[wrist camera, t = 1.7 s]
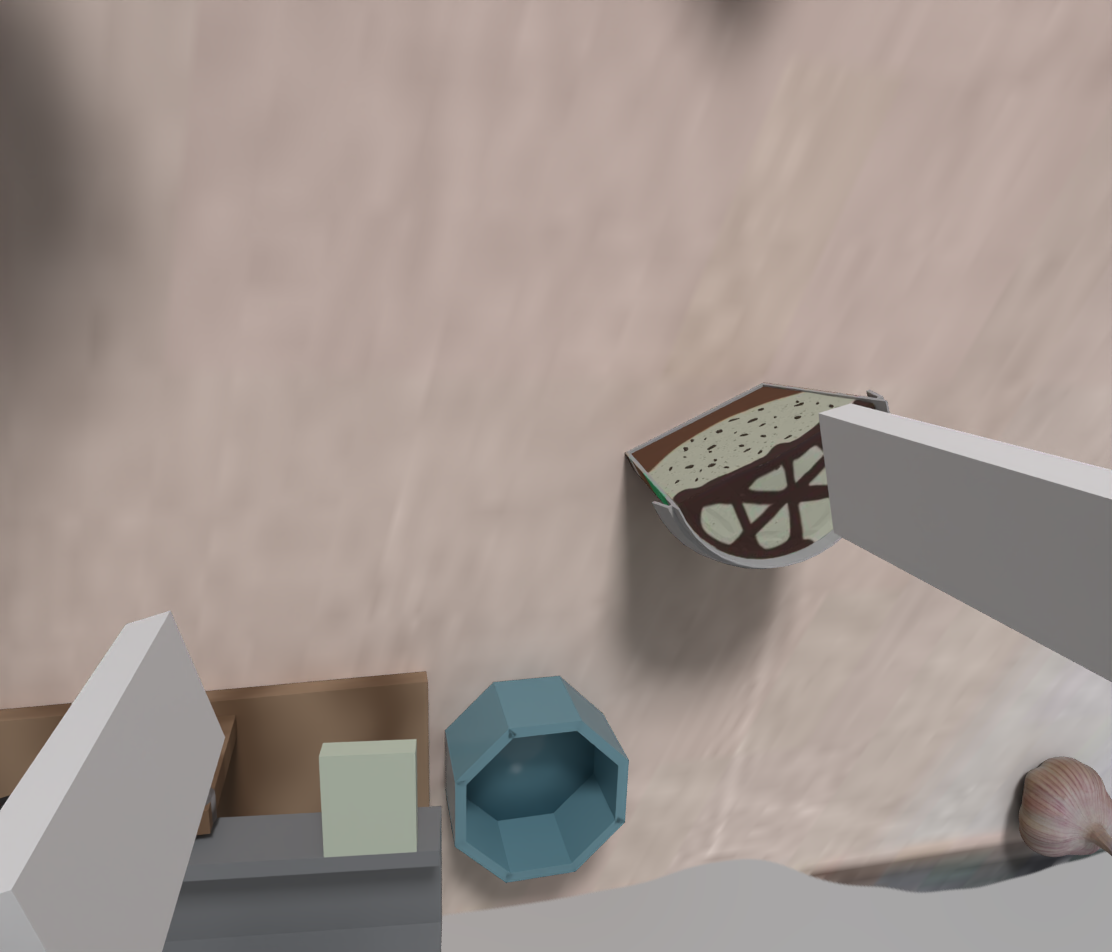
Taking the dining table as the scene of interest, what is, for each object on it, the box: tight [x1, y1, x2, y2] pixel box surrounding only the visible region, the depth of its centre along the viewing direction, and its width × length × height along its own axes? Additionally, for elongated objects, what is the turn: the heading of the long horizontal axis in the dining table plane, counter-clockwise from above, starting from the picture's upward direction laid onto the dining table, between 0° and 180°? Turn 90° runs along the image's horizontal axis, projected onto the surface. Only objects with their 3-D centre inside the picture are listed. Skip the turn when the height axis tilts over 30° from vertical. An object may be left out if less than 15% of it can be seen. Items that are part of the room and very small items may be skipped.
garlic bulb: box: [1019, 757, 1112, 857], centre depth 55 cm, size 8×7×8 cm
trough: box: [162, 739, 442, 952], centre depth 35 cm, size 22×12×5 cm, turn 88°
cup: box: [445, 676, 629, 883], centre depth 45 cm, size 10×10×5 cm
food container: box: [625, 383, 890, 569], centre depth 41 cm, size 12×6×10 cm, turn 114°
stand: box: [0, 672, 429, 835], centre depth 39 cm, size 22×12×9 cm, turn 88°
